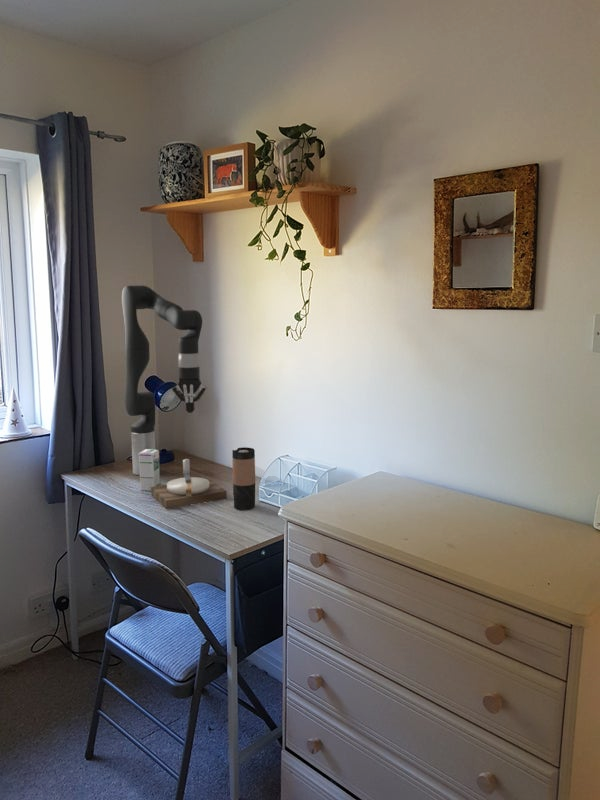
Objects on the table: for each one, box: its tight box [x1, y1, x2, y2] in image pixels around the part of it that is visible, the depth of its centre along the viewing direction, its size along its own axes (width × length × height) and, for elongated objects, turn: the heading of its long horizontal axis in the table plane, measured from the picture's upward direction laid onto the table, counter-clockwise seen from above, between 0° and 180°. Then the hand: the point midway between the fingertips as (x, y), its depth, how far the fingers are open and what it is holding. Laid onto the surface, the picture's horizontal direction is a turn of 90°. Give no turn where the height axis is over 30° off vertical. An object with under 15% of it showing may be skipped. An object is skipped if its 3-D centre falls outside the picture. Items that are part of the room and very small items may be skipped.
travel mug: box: [231, 446, 256, 511], centre depth 217 cm, size 8×8×20 cm
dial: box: [166, 458, 209, 495], centre depth 230 cm, size 19×15×8 cm
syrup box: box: [138, 448, 162, 492], centre depth 239 cm, size 6×6×14 cm
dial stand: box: [150, 478, 228, 510], centre depth 229 cm, size 18×22×5 cm
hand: (190, 412), depth 236 cm, fingers closed
